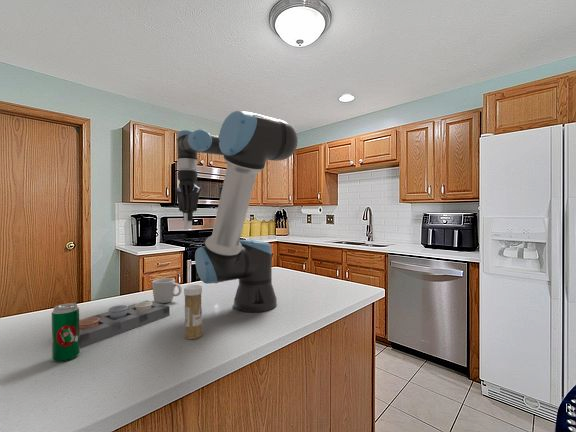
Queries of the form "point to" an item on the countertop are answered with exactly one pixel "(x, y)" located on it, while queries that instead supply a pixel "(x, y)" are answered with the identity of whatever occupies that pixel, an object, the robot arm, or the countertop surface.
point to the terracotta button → (88, 322)
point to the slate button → (118, 311)
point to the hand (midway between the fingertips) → (188, 229)
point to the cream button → (143, 306)
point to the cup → (165, 290)
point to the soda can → (65, 332)
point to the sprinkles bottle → (193, 311)
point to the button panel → (122, 322)
